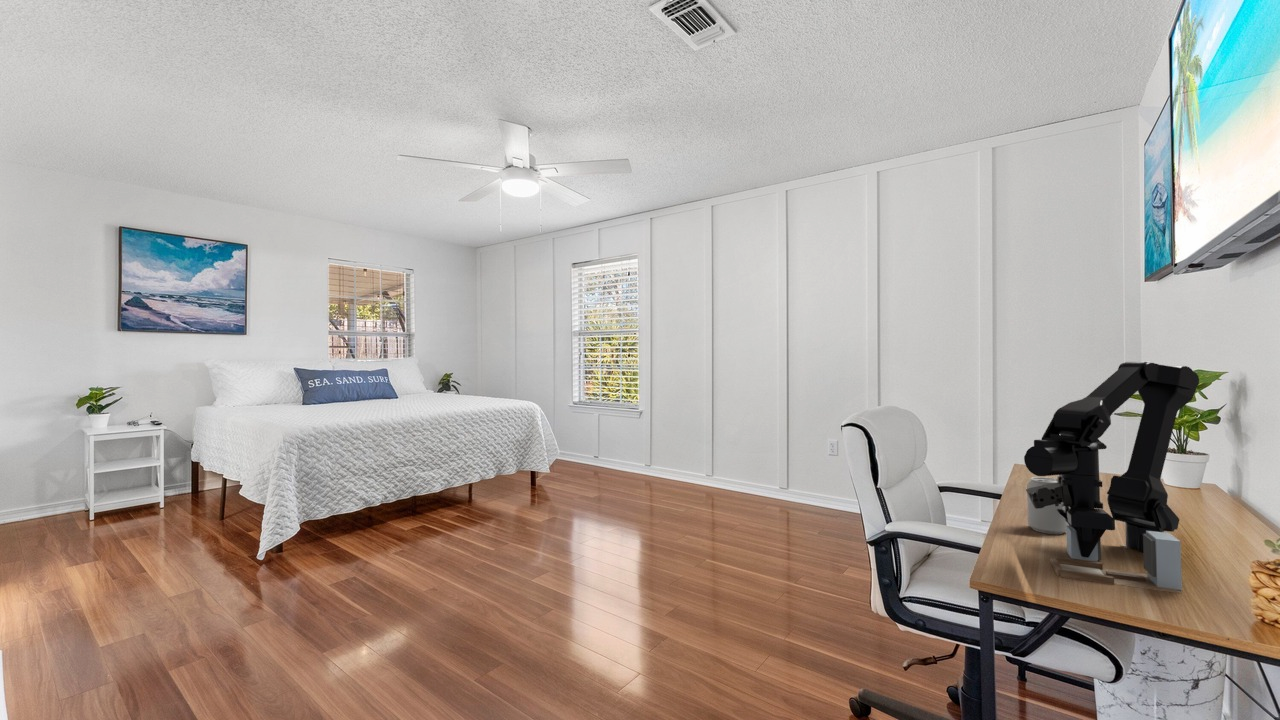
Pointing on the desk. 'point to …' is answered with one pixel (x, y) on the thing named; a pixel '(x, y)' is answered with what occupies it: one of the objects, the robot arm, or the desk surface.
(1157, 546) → the block
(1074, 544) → the finger block
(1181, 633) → the desk surface
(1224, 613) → the desk surface
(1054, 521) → the can
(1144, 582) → the rail
